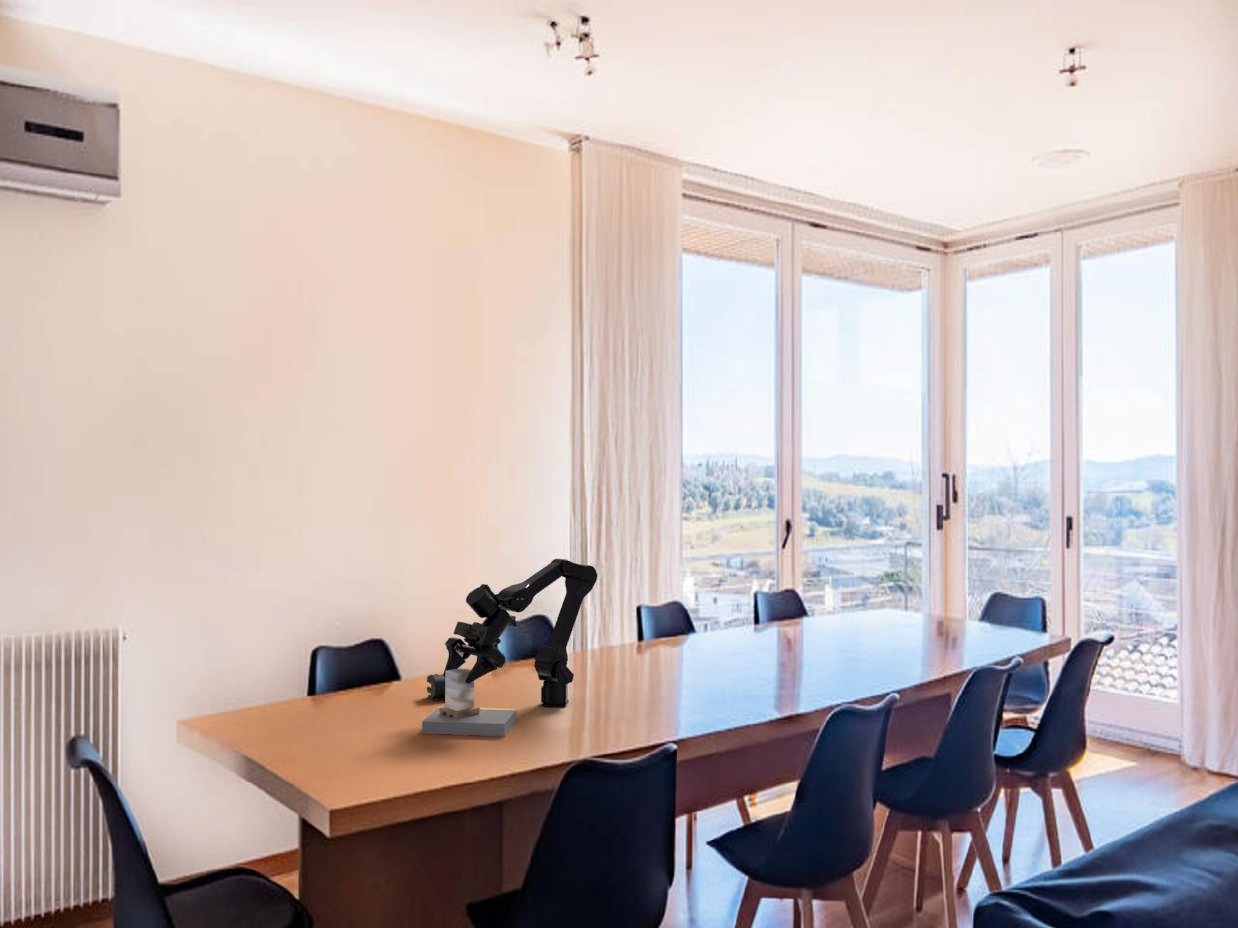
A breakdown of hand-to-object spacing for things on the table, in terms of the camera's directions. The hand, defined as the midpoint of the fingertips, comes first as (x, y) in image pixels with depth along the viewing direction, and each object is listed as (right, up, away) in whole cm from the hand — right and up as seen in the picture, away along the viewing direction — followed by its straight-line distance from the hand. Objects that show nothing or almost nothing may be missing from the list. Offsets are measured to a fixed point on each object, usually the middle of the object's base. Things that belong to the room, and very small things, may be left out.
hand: (455, 679), depth 228 cm
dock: (+4, -12, 0) cm, 12 cm away
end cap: (-8, -12, +30) cm, 33 cm away
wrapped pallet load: (+1, -9, +1) cm, 9 cm away
